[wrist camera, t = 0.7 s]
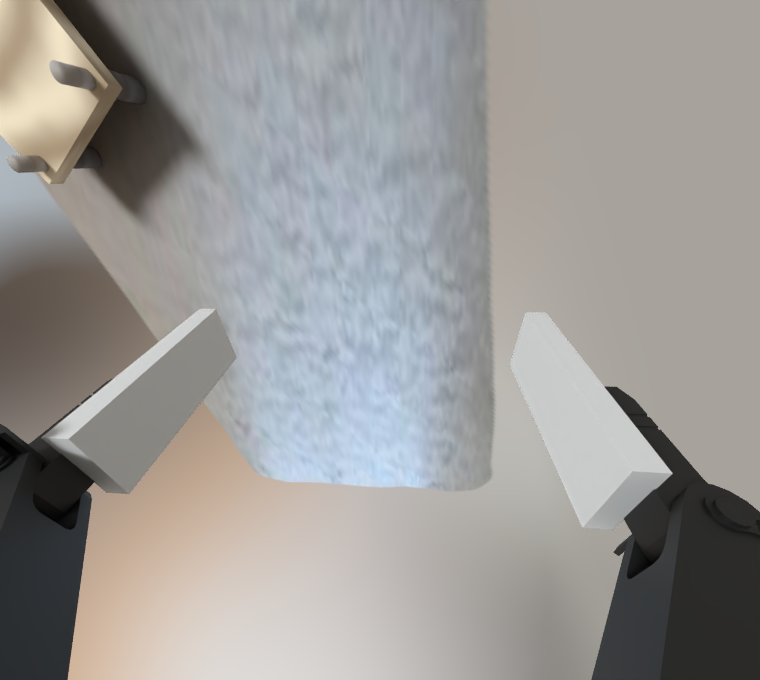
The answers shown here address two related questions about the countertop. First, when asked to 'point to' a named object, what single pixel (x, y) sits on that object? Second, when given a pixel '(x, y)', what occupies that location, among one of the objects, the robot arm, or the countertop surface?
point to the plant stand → (53, 90)
